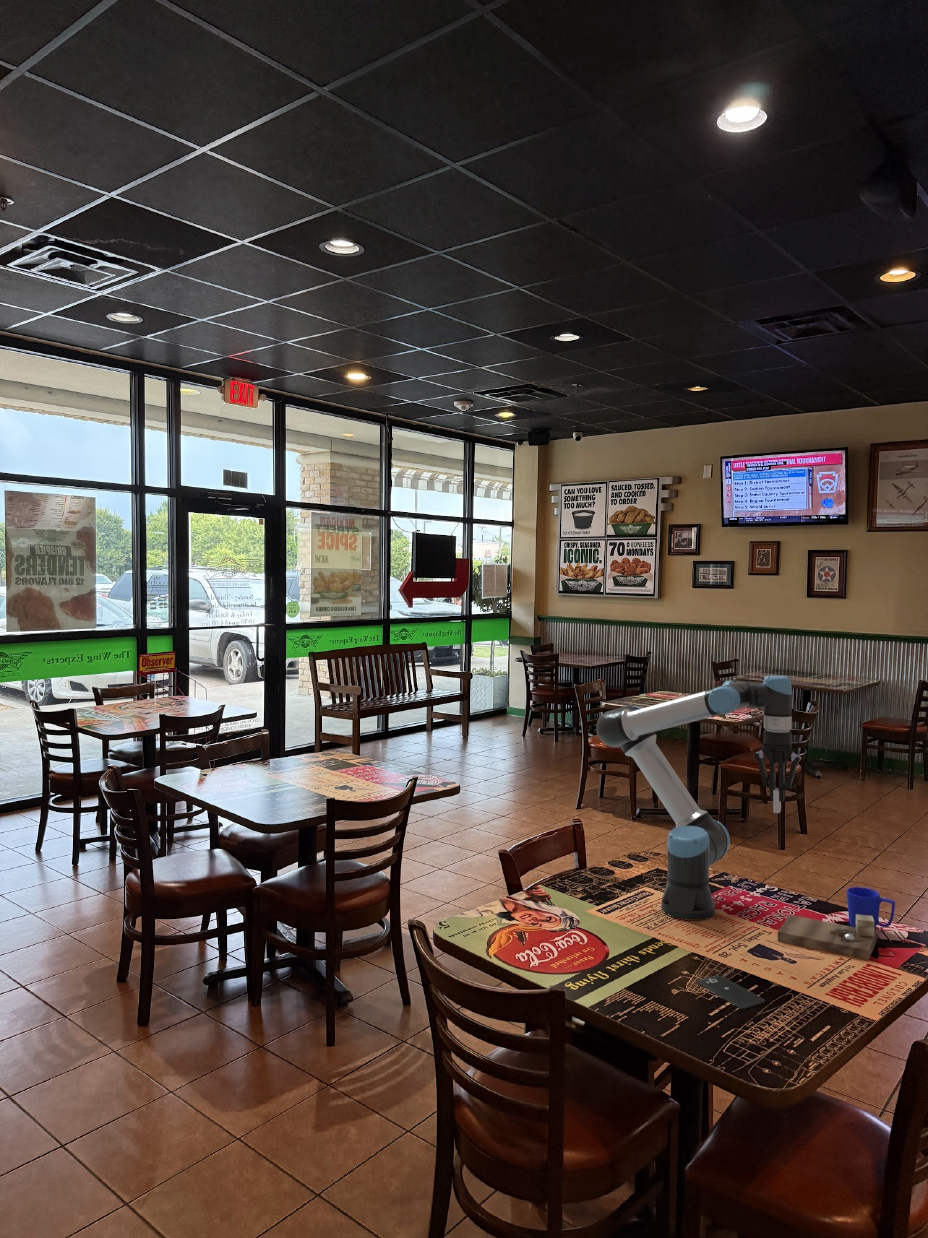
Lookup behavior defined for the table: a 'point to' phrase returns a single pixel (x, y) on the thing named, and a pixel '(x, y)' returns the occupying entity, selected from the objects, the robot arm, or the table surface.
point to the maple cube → (864, 925)
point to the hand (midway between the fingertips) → (777, 812)
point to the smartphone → (731, 992)
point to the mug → (866, 905)
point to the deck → (826, 937)
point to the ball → (849, 936)
